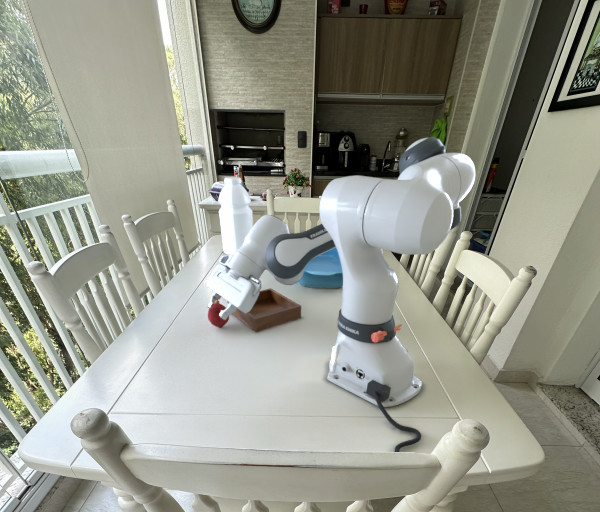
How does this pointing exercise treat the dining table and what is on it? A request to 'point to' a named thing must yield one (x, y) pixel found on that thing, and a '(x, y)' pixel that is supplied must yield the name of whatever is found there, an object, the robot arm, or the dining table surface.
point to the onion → (217, 314)
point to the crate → (269, 311)
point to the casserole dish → (323, 271)
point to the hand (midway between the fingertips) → (215, 313)
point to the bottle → (234, 214)
